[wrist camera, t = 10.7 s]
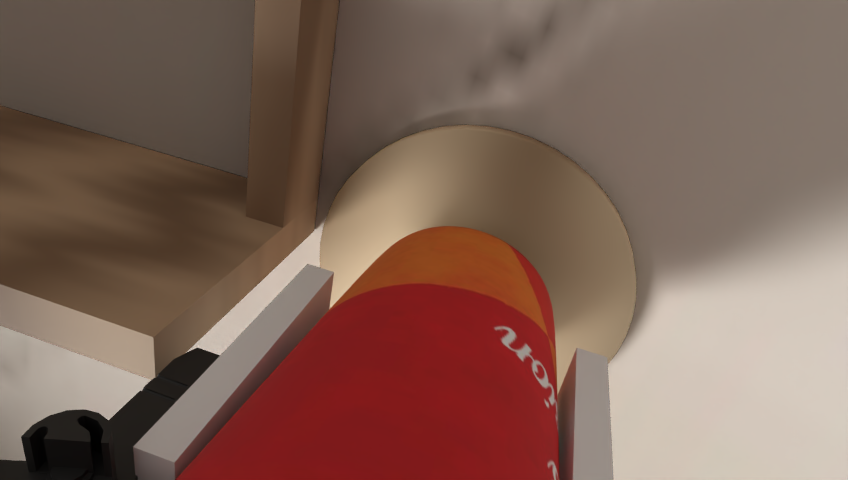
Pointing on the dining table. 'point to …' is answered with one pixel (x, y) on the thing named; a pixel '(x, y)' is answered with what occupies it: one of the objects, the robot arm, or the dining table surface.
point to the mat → (495, 223)
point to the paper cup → (410, 376)
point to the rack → (163, 211)
